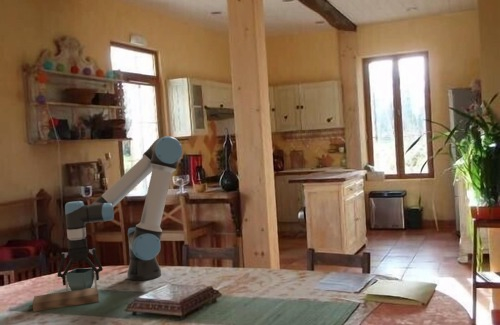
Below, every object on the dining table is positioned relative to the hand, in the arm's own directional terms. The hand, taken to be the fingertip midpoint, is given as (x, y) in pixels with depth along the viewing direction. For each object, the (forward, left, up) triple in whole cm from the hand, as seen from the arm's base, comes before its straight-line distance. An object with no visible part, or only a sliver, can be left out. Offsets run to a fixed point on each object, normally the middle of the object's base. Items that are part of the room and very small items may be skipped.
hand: (81, 290), depth 236 cm
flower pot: (0, 0, -1) cm, 1 cm away
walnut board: (+6, +14, -1) cm, 15 cm away
